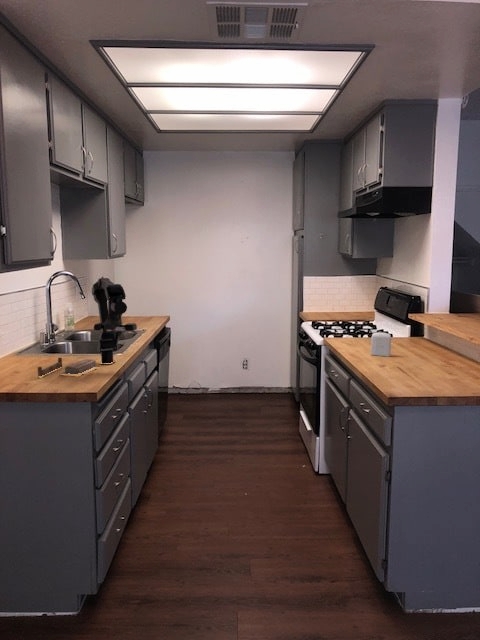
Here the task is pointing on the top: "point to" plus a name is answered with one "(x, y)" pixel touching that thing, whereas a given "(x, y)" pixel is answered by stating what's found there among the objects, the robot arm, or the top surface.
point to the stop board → (50, 368)
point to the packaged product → (79, 366)
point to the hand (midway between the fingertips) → (116, 345)
